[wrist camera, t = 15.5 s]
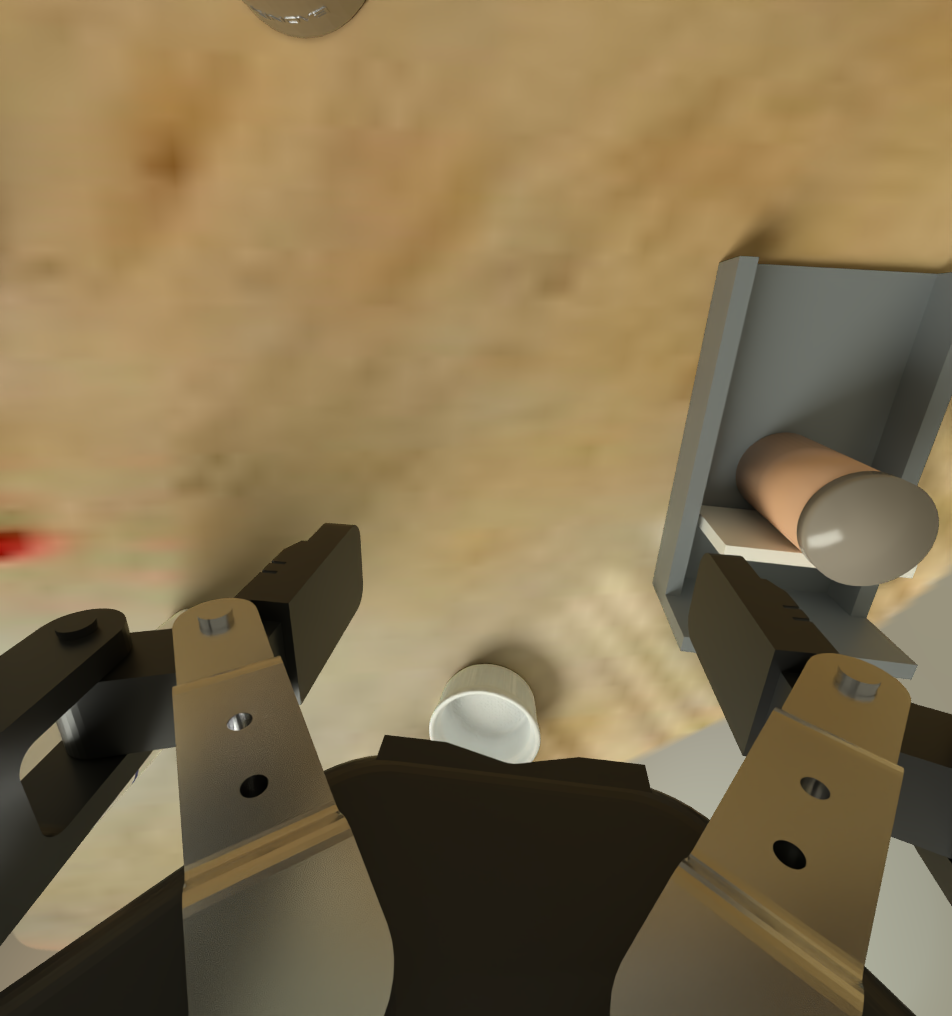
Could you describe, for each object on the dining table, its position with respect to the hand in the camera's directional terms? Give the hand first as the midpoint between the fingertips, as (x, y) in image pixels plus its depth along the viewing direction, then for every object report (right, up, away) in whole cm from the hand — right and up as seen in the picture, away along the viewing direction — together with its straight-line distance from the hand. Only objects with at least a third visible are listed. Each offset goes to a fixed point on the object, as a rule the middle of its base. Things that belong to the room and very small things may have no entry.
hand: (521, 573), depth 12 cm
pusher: (+19, +1, +23) cm, 30 cm away
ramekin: (0, -15, +33) cm, 36 cm away
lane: (+19, +5, +22) cm, 30 cm away
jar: (+19, +4, +22) cm, 30 cm away
